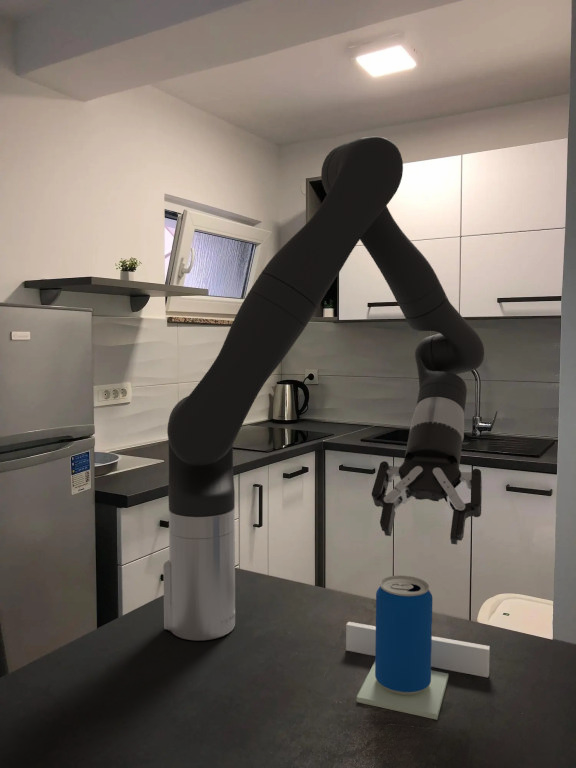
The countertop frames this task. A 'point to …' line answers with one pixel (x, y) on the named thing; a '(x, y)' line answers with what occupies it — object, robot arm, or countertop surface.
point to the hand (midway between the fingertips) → (419, 537)
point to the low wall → (442, 655)
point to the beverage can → (403, 635)
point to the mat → (405, 696)
